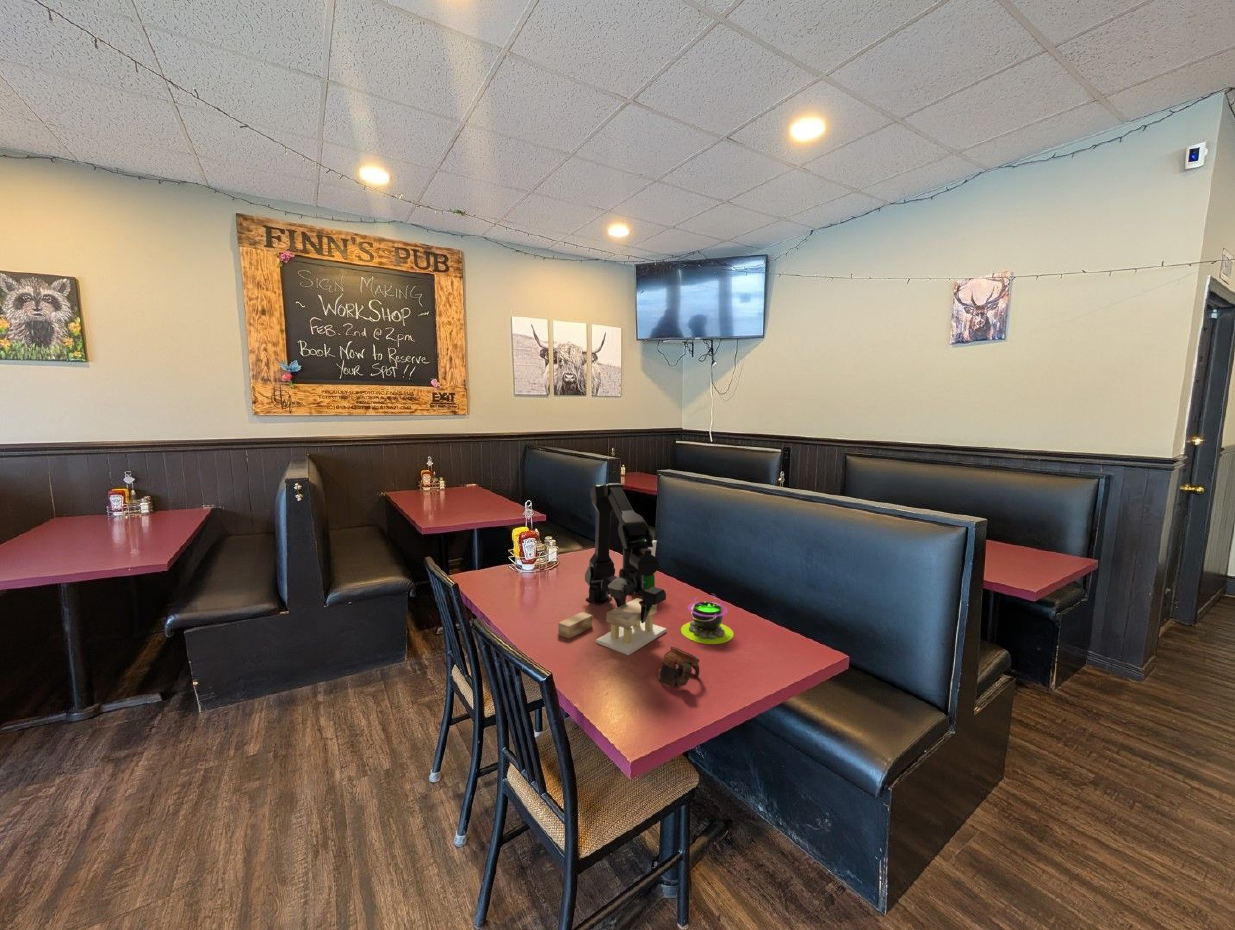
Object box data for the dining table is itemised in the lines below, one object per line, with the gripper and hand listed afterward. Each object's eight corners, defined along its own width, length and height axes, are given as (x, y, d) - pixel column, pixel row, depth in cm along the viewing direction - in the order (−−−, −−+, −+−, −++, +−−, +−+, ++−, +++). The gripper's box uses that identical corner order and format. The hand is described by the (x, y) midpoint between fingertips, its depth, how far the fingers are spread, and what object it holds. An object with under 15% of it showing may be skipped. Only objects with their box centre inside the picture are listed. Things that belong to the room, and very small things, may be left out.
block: (582, 623, 150) (582, 611, 150) (592, 626, 148) (592, 615, 148) (558, 634, 143) (558, 622, 142) (568, 638, 140) (568, 626, 140)
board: (636, 606, 148) (636, 597, 148) (656, 612, 144) (656, 603, 144) (606, 621, 137) (606, 612, 137) (626, 628, 133) (626, 619, 133)
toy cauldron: (671, 625, 150) (672, 589, 148) (715, 618, 155) (716, 583, 154) (697, 648, 136) (698, 608, 134) (744, 639, 141) (745, 601, 140)
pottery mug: (650, 674, 123) (662, 641, 125) (683, 688, 124) (695, 655, 126) (666, 688, 111) (680, 651, 113) (703, 703, 113) (716, 667, 115)
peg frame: (635, 621, 152) (635, 605, 151) (666, 631, 145) (666, 615, 145) (596, 642, 138) (596, 625, 137) (628, 655, 131) (628, 636, 130)
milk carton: (624, 592, 176) (624, 536, 174) (637, 584, 183) (638, 530, 181) (646, 597, 171) (647, 539, 169) (658, 589, 179) (659, 534, 177)
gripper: (588, 565, 139) (588, 619, 140) (643, 579, 127) (642, 639, 129) (613, 556, 147) (613, 607, 149) (667, 569, 136) (666, 624, 138)
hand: (632, 619), depth 141 cm, fingers closed on board, 7 cm apart
